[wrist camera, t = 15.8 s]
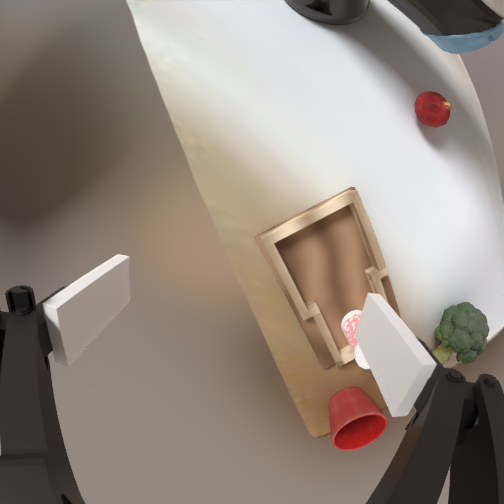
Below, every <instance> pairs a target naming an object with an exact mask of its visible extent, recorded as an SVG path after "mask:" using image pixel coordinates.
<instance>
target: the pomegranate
mask: <svg viewBox="0 0 504 504" xmlns="http://www.w3.org/2000/svg"><path fill="white" fill-rule="evenodd" d="M450 109H451V105H450V103H449V102H447V101H446V99H445V98H444V97H443V96H441V95H440V94H438V93H436V92H431V91H429V92H424V93H422V94H421V95H419V96H418V97H417V99H416V102H415V112H416V114H417V116H418V118H419V119H420V120H421V121H422V122H423V123H425V124H426V125H428V126H432V127H439V126H441V125H444V124H445V123H446V122H447V120H448V119H449V116H450Z"/></svg>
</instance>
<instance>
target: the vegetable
mask: <svg viewBox="0 0 504 504" xmlns="http://www.w3.org/2000/svg"><path fill="white" fill-rule="evenodd" d="M442 320H443V322H441V323H440V326H438V327H437V328H436V330H435V333H436V334H437V338H438V339H439V340H440V341H442V343H441V344H440V345H439V346H438V347H437V348H435V349H434V350H433V351H432V353H433V355H435V357H436V358H437V359H438V360H439V362H440V363H441V364H443V363H444V362H445V361H448V360H449V356H450V355H451V354H452V353H453V352H458V353H457V355H456V359H457V361H458V362H460V360H461V361H462V362H463V363H464V364H466V363H471V362H473V361H474V360H475V359H476V357H477V355H480V353H481V352H482V351H484V349H485V348H486V345H487V339H486V337H487V336H488V332H489V327H488V325H487V319H486V316H485V315H484V314H483V313H482V312H481V311H480V310H479V309H476V308H475V307H474V306H473V305H472V304H470V303H469V302H463V303H461V304H458V305H457V307H456V306H451V307H449V308H448V309H446V310H444V315H443V316H442Z"/></svg>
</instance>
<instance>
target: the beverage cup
mask: <svg viewBox="0 0 504 504" xmlns="http://www.w3.org/2000/svg"><path fill="white" fill-rule="evenodd" d="M361 313H362V311H361V310H354V311H351V312H349V313H348V314H346V316H345V317H344V318H343V320H342V323H341V327H342V330H343V332H344V334H345V336H346V338H347V340H348V342H349V344H350V346H351V348H352V350H353V352H354V358H355V360H356V362H357V364H358V365H359V366H360V367H362V368H364V369H370V367H369V365H368V363H367V361H366V359H365V357H364V355H363V353H362V351H361V349H360V346H359V344H358V342H357V340H356V338H355V336H354V334H355V331H356V328H357V325H358V323H359V320H360V316H361Z"/></svg>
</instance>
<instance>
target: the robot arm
mask: <svg viewBox="0 0 504 504" xmlns="http://www.w3.org/2000/svg"><path fill="white" fill-rule="evenodd" d="M285 1H286V3H287V4H288V5H289V6H290V7H292V8H293V9H294V10H295V11H297V12H298V13H300V14H302V15H304V16H305V17H308V18H310V19H312V20H315V21H318V22H322V23H326V24H333V25H344V24H350V23H353V22H355V21H357V20H359V19H360V18H361V17H362V16H363V15H364V13H365V12H366V11H367V9H368V7H369V3H370V0H285ZM388 1H389V2H390V3H391V4H392V5H394V6H395V7H396V8H397V9H399V10H400V11H401V12H402V13H403V14H404V15H406V16H407V17H408V18H409V19H410V20H411V21H412V22H413V23H414V24H415V25H417V26H418V27H419V28H420V31H421V32H422V33H423V34H424V35H426V36H428V37H429V38H430V39H431V40H432V41H433V42H434V43H435V44H436V45H437V46H438V47H440V48H441V49H442V50H444V51H446V52H449V53H452V54H462V53H468V52H472V51H475V50H478V49H480V48H483V47H485V46H487V45H489V44H490V42H491V41H495V40H497V39H498V38H499V37H500V36H501V35H502V34H503V32H504V24H503V21H502V19H504V0H388ZM5 295H6V300H7V305H8V309H9V312H2V311H0V440H1V456H0V504H85V502H84V500H83V498H82V496H81V494H80V492H79V489H78V487H77V484H76V481H75V478H74V475H73V472H72V469H71V466H70V463H69V460H68V456H67V453H66V449H65V445H64V441H63V437H62V433H61V429H60V425H59V420H58V415H57V410H56V405H55V399H54V393H53V387H52V379H51V371H50V363H49V359H48V354H49V353H50V352H51V351H52V350H53V354H54V358H55V361H56V362H57V363H60V364H62V365H64V366H67V367H70V366H71V365H72V364H73V363H74V361H75V360H76V359H77V358H78V357H79V356H80V355H81V353H82V352H83V351H84V350H85V349H86V348H87V347H88V346H89V345H90V343H91V342H92V341H93V340H94V339H95V338H96V337H97V336H98V335H99V334H100V333H101V332H102V331H103V329H104V328H105V327H106V326H107V325H108V324H109V323H110V322H111V321H112V320H113V318H115V317H116V316H117V314H118V313H119V312H120V311H121V310H122V309H123V308H124V307H125V306H126V305H127V304H128V303H129V302H130V256H125V255H119V254H117V255H116V256H114V257H113V258H111V259H109V260H108V261H106V262H105V263H103V264H101V265H100V266H98V267H97V268H95V269H94V270H92V271H90V272H89V273H87V274H86V275H84V276H83V277H81V278H80V279H78V280H77V281H75V282H74V283H72V284H71V285H68V286H65V287H62V288H60V289H59V290H57V291H56V292H55V293H53V294H51V295H50V297H47V298H45V299H44V300H42V301H41V302H40V303H38V304H37V305H36V303H35V298H34V292H33V289H32V288H31V287H29V286H15V287H12V288H10V289H9V290H7V292H6V293H5ZM354 336H355V338H356V340H357V342H358V344H359V346H360V349H361V351H362V353H363V355H364V357H365V359H366V361H367V363H368V365H369V367H370V369H371V371H372V374H373V376H374V378H375V380H376V382H377V384H378V386H379V389H380V391H381V393H382V395H383V397H384V400H385V402H386V404H387V406H388V409H389V411H390V413H391V415H392V417H398V416H407V415H408V413H409V412H410V410H411V409H412V407H413V405H414V407H415V408H416V410H417V412H416V413H415V415H414V417H413V418H412V419H411V421H410V422H409V424H408V425H407V427H406V428H405V430H407V432H406V434H405V436H404V438H403V440H402V442H401V444H400V446H399V448H398V450H397V452H396V454H395V456H394V458H393V460H392V461H391V463H390V465H389V467H388V469H387V471H386V472H385V474H384V476H383V477H382V479H381V481H380V482H379V484H378V485H377V487H376V489H375V490H374V492H373V493H372V495H371V497H370V498H369V500H368V501H367V503H366V504H437V502H438V499H439V497H440V494H441V491H442V488H443V485H444V482H445V479H446V476H447V473H448V470H449V467H450V487H449V501H448V504H504V393H503V390H502V387H501V385H500V383H499V381H498V380H497V379H496V378H495V377H493V376H492V375H489V374H481V375H480V376H479V377H478V379H477V381H476V382H475V383H471V382H466V379H465V377H464V376H463V375H462V374H461V373H460V372H459V371H457V370H455V369H452V368H444V367H443V365H442V364H441V363H440V362H439V360H438V359H437V358H436V357H435V355H433V353H432V352H431V350H429V348H428V347H427V345H426V344H425V343H424V342H423V341H422V340H420V339H419V338H418V337H415V336H414V334H413V333H412V332H411V331H410V329H409V328H408V327H407V326H406V324H405V323H404V322H403V321H402V320H401V318H400V317H399V316H398V315H397V314H396V312H395V311H394V310H393V309H392V308H391V307H390V305H389V304H388V303H387V302H386V301H385V300H384V298H383V297H382V296H381V295H380V294H375V293H368V294H367V297H366V301H365V304H364V307H363V310H362V313H361V316H360V320H359V323H358V325H357V328H356V331H355V334H354ZM477 422H478V423H477Z"/></svg>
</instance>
